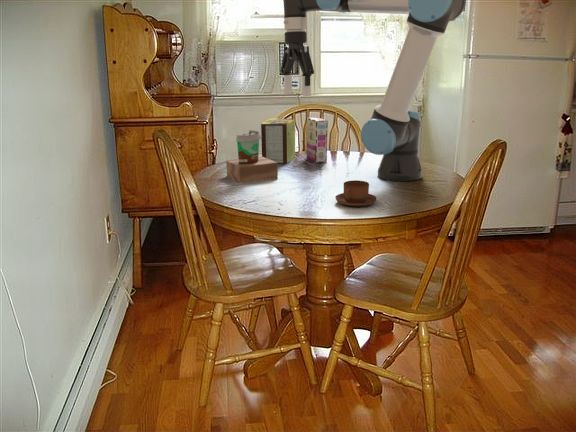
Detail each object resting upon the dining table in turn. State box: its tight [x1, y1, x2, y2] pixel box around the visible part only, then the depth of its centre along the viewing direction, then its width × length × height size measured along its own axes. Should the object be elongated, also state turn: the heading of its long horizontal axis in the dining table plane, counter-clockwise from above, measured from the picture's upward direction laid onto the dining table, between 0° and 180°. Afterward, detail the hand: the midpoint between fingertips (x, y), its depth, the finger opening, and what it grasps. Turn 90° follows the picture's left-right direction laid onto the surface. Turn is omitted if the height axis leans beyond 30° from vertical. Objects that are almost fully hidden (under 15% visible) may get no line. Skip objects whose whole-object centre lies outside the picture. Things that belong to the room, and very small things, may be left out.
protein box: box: [260, 117, 296, 165], centre depth 228 cm, size 10×15×16 cm
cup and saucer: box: [335, 179, 378, 207], centre depth 168 cm, size 12×12×6 cm
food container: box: [236, 129, 261, 164], centre depth 197 cm, size 12×6×10 cm, turn 162°
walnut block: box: [226, 156, 279, 184], centre depth 200 cm, size 12×14×6 cm
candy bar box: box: [306, 117, 329, 164], centre depth 226 cm, size 11×5×16 cm, turn 17°
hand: (297, 95), depth 200 cm, fingers open, 13 cm apart
